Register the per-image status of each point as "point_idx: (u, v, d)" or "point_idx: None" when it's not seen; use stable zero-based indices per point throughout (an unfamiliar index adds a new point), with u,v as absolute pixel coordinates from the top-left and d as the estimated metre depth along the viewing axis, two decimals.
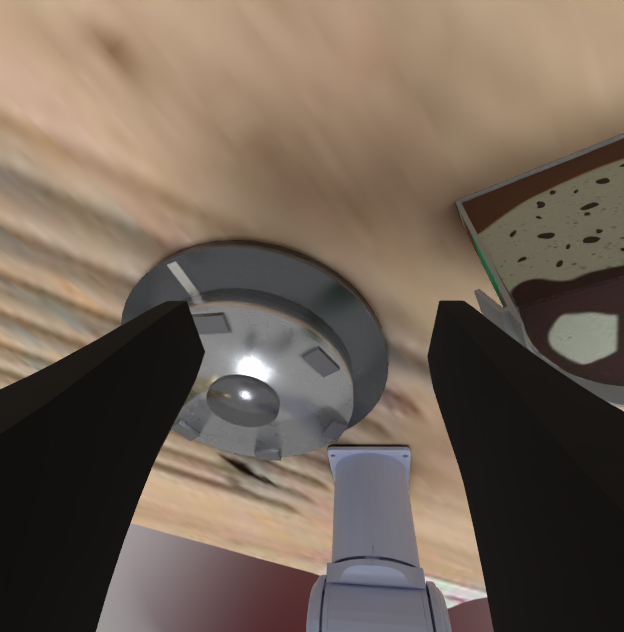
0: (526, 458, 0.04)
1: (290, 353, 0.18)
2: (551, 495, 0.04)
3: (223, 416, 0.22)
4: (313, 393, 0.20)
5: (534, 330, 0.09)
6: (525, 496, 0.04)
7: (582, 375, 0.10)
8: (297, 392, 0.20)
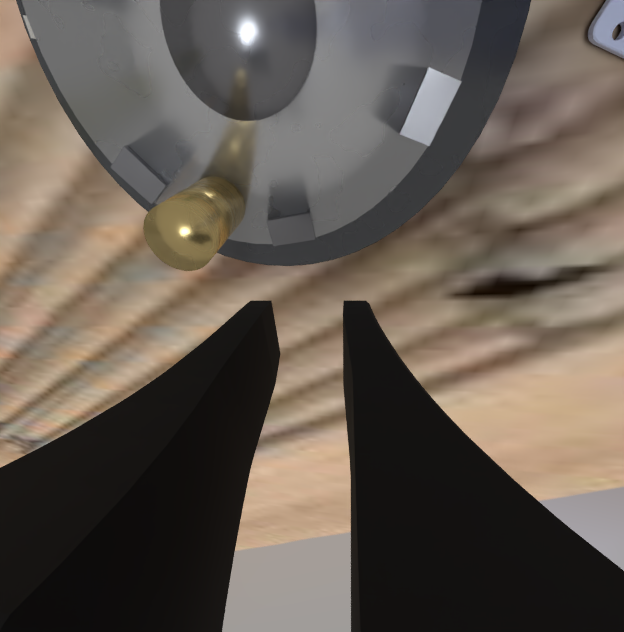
0: None
1: None
2: (352, 482, 0.04)
3: (261, 107, 0.11)
4: None
5: None
6: (353, 484, 0.05)
7: None
8: None
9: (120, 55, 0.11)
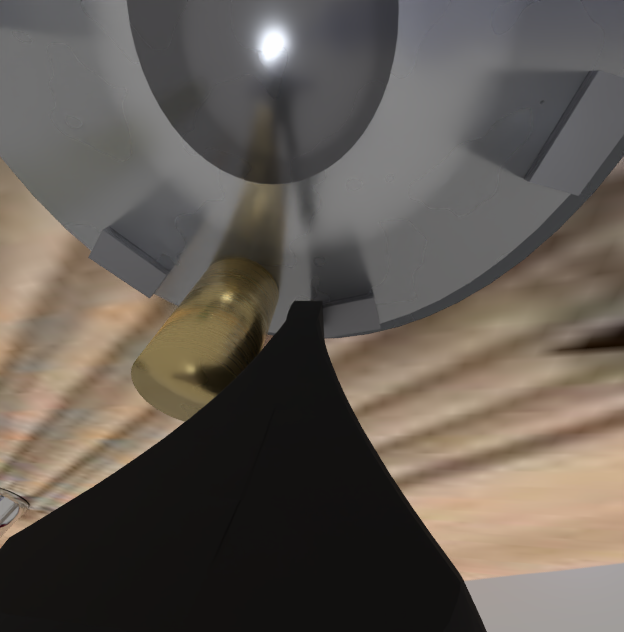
0: None
1: None
2: None
3: (302, 162, 0.07)
4: None
5: None
6: None
7: None
8: None
9: (81, 105, 0.07)
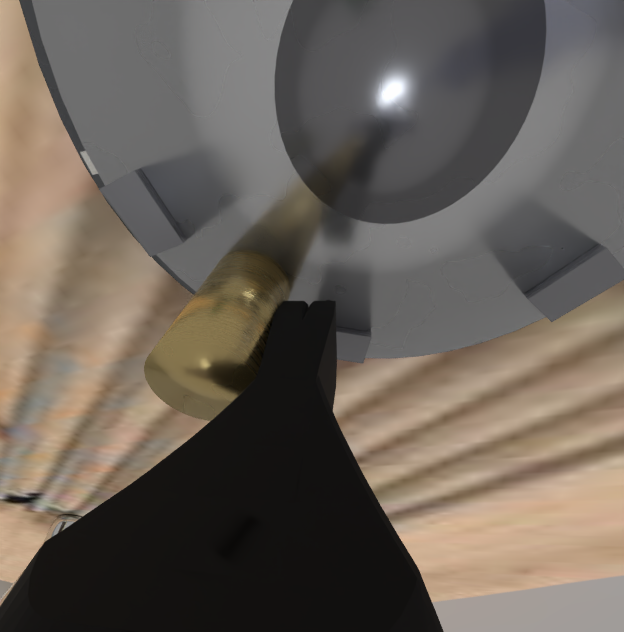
0: None
1: None
2: None
3: (378, 209, 0.07)
4: None
5: None
6: None
7: None
8: None
9: (180, 40, 0.06)
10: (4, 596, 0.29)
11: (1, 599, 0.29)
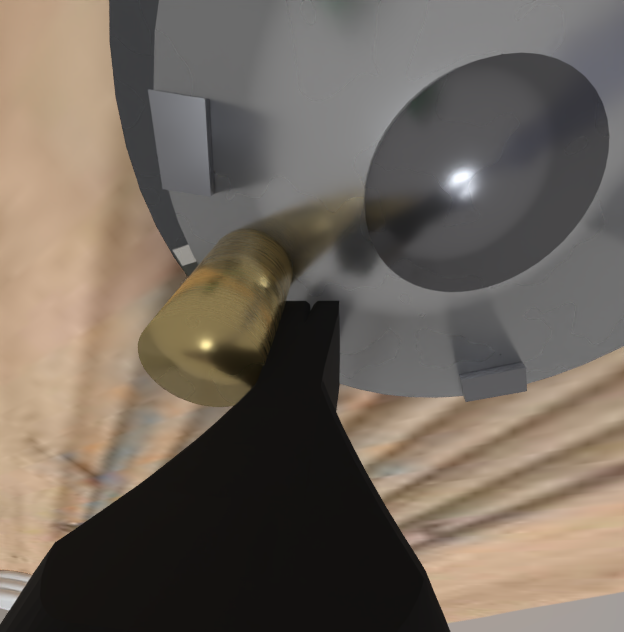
0: None
1: None
2: None
3: (407, 266, 0.08)
4: None
5: None
6: None
7: None
8: None
9: (333, 18, 0.06)
10: None
11: None
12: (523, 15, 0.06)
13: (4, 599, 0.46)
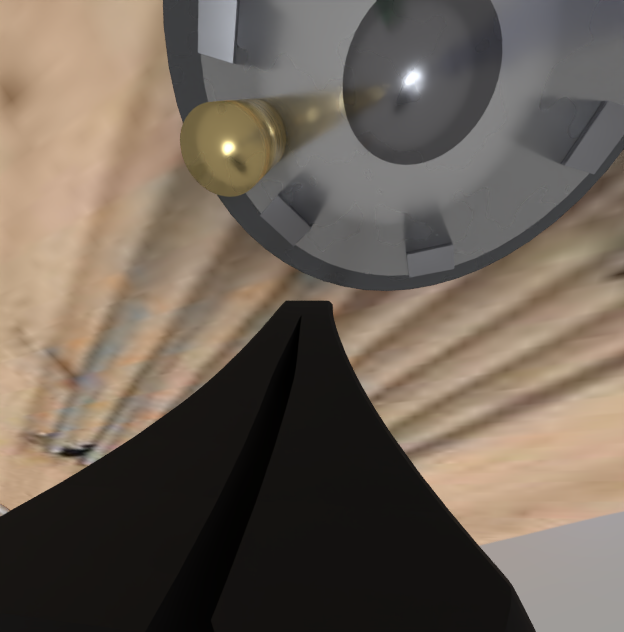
0: None
1: None
2: None
3: (370, 138, 0.11)
4: (587, 6, 0.09)
5: None
6: None
7: None
8: (548, 12, 0.09)
9: None
10: None
11: None
12: None
13: None
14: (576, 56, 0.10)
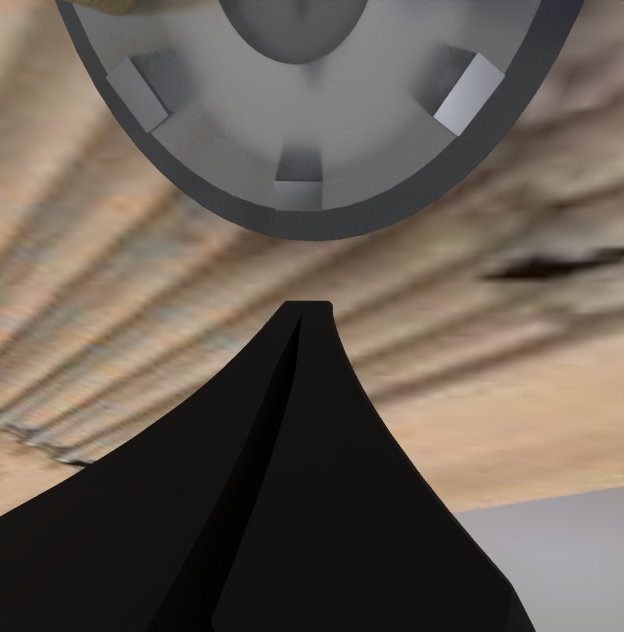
0: None
1: None
2: None
3: (235, 8, 0.09)
4: None
5: None
6: None
7: None
8: None
9: None
10: None
11: None
12: None
13: None
14: None
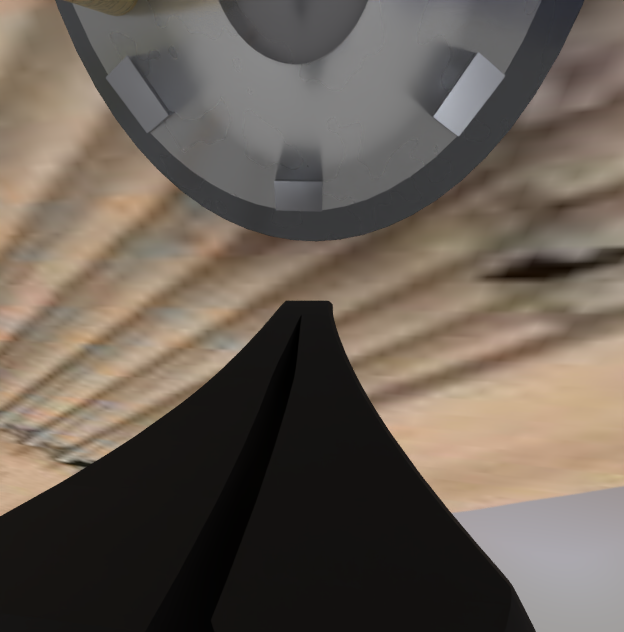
0: None
1: None
2: None
3: (235, 8, 0.09)
4: None
5: None
6: None
7: None
8: None
9: None
10: None
11: None
12: None
13: None
14: None
